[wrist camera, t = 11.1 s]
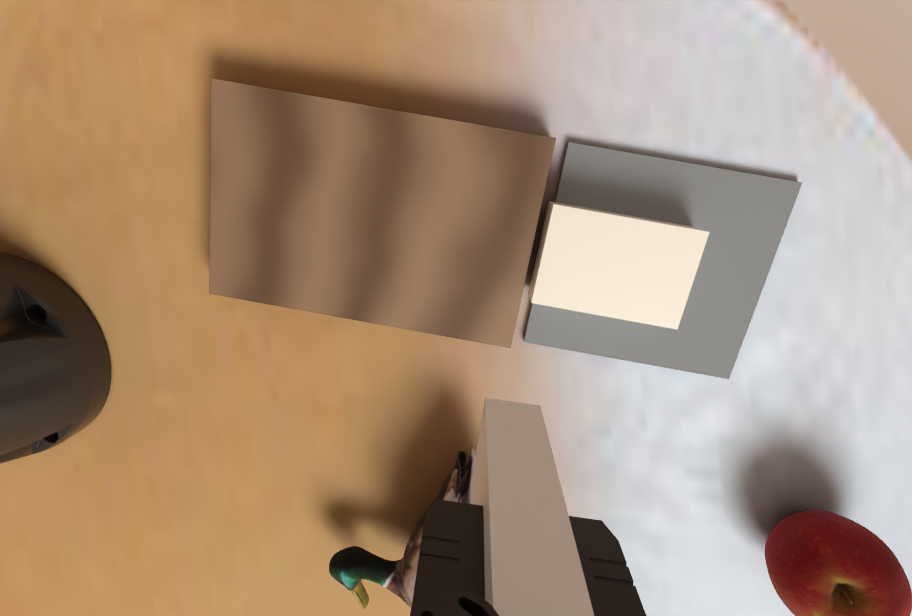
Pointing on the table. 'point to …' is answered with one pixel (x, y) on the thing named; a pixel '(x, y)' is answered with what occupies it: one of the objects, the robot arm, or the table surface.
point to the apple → (834, 568)
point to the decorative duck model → (402, 573)
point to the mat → (720, 269)
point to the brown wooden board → (372, 212)
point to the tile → (615, 265)
